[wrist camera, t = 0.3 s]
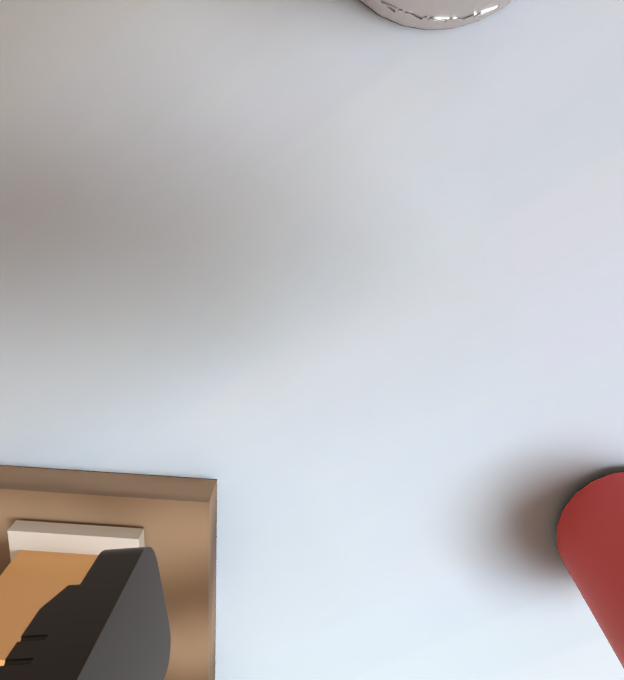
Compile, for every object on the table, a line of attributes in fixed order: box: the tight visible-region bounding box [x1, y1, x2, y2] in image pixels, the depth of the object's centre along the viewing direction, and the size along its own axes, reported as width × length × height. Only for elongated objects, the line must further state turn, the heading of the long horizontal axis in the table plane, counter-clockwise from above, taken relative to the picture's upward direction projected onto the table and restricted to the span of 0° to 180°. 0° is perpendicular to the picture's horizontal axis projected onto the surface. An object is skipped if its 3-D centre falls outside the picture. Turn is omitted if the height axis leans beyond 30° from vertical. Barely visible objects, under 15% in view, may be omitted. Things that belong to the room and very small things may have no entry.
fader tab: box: [0, 520, 145, 666], centre depth 25 cm, size 5×6×7 cm
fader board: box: [0, 466, 217, 680], centre depth 32 cm, size 22×12×2 cm, turn 177°
